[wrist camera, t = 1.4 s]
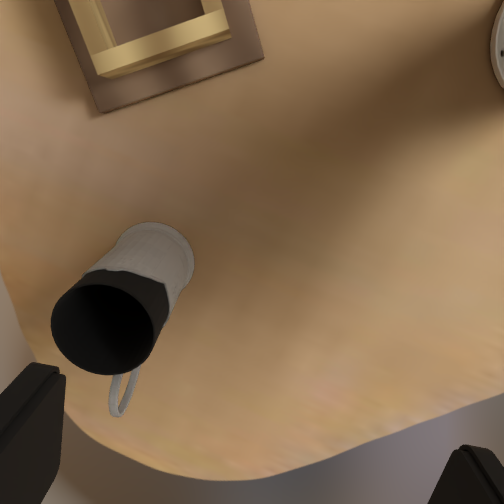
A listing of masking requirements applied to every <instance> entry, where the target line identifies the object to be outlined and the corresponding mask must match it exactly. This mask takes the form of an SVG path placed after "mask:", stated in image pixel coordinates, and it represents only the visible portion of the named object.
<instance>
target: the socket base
mask: <svg viewBox="0 0 504 504" xmlns="http://www.w3.org/2000/svg"><path fill="white" fill-rule="evenodd" d="M54 2H55V4H56V6H57V9H58V11H59V14H60V16H61V19H62V21H63V24H64V26H65V29H66V31H67V34H68V36H69V39H70V41H71V44H72V46H73V49H74V51H75V54H76V56H77V58H78V61H79V63H80V66H81V68H82V71H83V73H84V76H85V78H86V81H87V83H88V86H89V88H90V91H91V93H92V96H93V98H94V101H95V103H96V105H97V108H98V110H99V113H107V112H110V111H113V110H116V109H119V108H122V107H124V106H127V105H130V104H133V103H136V102H139V101H142V100H145V99H148V98H151V97H154V96H157V95H160V94H163V93H166V92H168V91H171V90H174V89H177V88H180V87H183V86H186V85H189V84H192V83H195V82H198V81H201V80H204V79H207V78H210V77H212V76H215V75H218V74H221V73H224V72H227V71H230V70H233V69H236V68H239V67H242V66H245V65H248V64H251V63H253V62H256V61H259V60H262V59H264V54H263V50H262V47H261V43H260V39H259V36H258V32H257V28H256V25H255V21H254V17H253V14H252V10H251V6H250V3H249V0H54Z"/></svg>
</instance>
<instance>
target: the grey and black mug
mask: <svg viewBox="0 0 504 504" xmlns="http://www.w3.org/2000/svg"><path fill="white" fill-rule="evenodd" d="M194 265H195V264H194V255H193V251H192V249H191V247H190V244H189V243H188V242H187V240H186V239H185V238H184V236H183V235H182V234H181V233H179V232H178V231H177V230H175V229H174V228H172V227H170V226H168V225H165V224H162V223H157V222H145V223H139V224H137V225H134V226H132V227H130V228H129V229H127V230H126V231H125V232H124V233H123V234H122V235H121V236H120V238H119V239H118V241H117V243H116V245H115V247H113V248H112V249H111V250H110V251H109V252H108V253H107V254H105V255H104V256H103V257H102V258H101V259H100V260H99V261H97V262H96V263H95V264H94V265H93V266H92V267H91V268H89V269H88V270H87V271H86V272H85V273H84V274H83V275H82V279H81V280H79V281H78V282H77V283H76V284H75V285H74V286H73V287H72V288H71V289H69V290H68V291H67V292H66V293H65V294H64V295H63V296H62V297H61V298H60V299H59V300H58V302H57V303H56V305H55V307H54V309H53V312H52V316H51V331H52V336H53V338H54V341H55V343H56V345H57V347H58V348H59V350H60V351H61V352H62V354H63V355H64V356H65V357H66V358H67V359H68V360H69V361H71V362H72V363H73V364H75V365H76V366H78V367H79V368H81V369H84V370H86V371H88V372H91V373H95V374H100V375H114V376H113V379H112V383H111V387H110V393H109V411H110V415H112V416H113V417H121V416H122V415H123V414H124V412H125V410H126V409H127V407H128V404H129V402H130V399H131V397H132V394H133V391H134V388H135V385H136V382H137V378H138V375H139V371H140V367H141V364H142V363H143V362H144V361H145V360H146V359H147V358H148V357H149V355H150V353H151V351H152V349H153V347H154V345H155V343H156V340H157V338H158V336H159V334H160V332H161V329H162V328H163V327H164V326H165V324H166V323H167V321H168V319H169V317H170V315H171V312H172V310H173V308H174V306H175V303H176V301H177V299H178V297H179V294H180V292H181V290H182V289H184V288H185V286H186V285H187V284H188V283H189V281H190V279H191V277H192V275H193V272H194ZM129 371H132V372H131V375H130V379H129V382H128V385H127V388H126V391H125V394H124V396H123V398H122V401H121V403H120V405H119V407H118V394H119V388H120V384H121V379H122V376H123V373H126V372H129Z"/></svg>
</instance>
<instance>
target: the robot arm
mask: <svg viewBox="0 0 504 504" xmlns="http://www.w3.org/2000/svg"><path fill="white" fill-rule="evenodd" d="M490 52H491V62H492V66H493V70H494V74H495V76H496V78H497V80H498V82H499V84H500V85H501V86H502V88H503V89H504V1H503V2H502V5H501V7H500V9H499V11H498V13H497V16H496V18H495V22H494V26H493V29H492V34H491V43H490ZM501 52H502V55H501V54H500V53H501ZM65 387H66V376H65V375H63V374H60V370H59V368H58V367H56V366H51V365H46V364H41V363H35V362H32V363H30V364H29V365H28V366H27V367H26V368H25V369H24V370H23V371H22V372H21V373H20V374H19V375H18V376H17V377H16V378H15V379H14V381H12V383H11V384H10V385H9V386H8V387H7V388H6V389H5V390H4V391H3V392H2V393H1V394H0V504H41V502H42V500H43V499H44V497H45V495H46V493H47V492H48V490H49V488H50V486H51V484H52V483H53V481H54V479H55V477H56V475H57V472H58V469H59V465H60V456H61V455H60V454H61V442H62V428H63V414H64V400H65ZM428 504H504V467H503V466H502V464H501V463H500V461H499V460H498V459H497V457H496V456H495V454H494V453H493V452H492V451H490V450H489V449H486V448H481V447H476V446H471V445H462V446H460V448H459V449H458V450H454V451H453V452H452V454H451V456H450V458H449V460H448V462H447V464H446V466H445V469H444V471H443V473H442V475H441V477H440V479H439V481H438V483H437V485H436V487H435V489H434V491H433V493H432V496H431V498H430V500H429V502H428Z"/></svg>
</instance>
